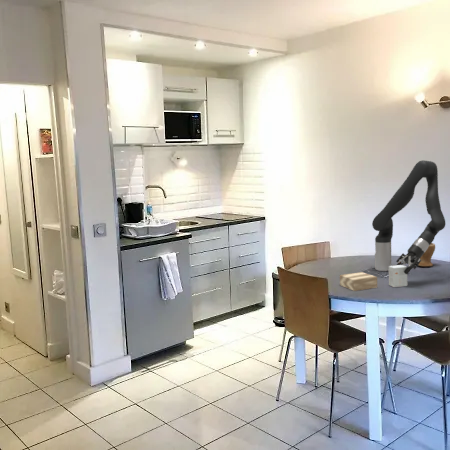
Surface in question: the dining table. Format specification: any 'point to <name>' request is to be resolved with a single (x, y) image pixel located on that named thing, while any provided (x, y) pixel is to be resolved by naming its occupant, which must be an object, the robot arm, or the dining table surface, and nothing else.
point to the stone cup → (427, 256)
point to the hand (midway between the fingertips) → (400, 271)
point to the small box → (397, 276)
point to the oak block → (358, 281)
